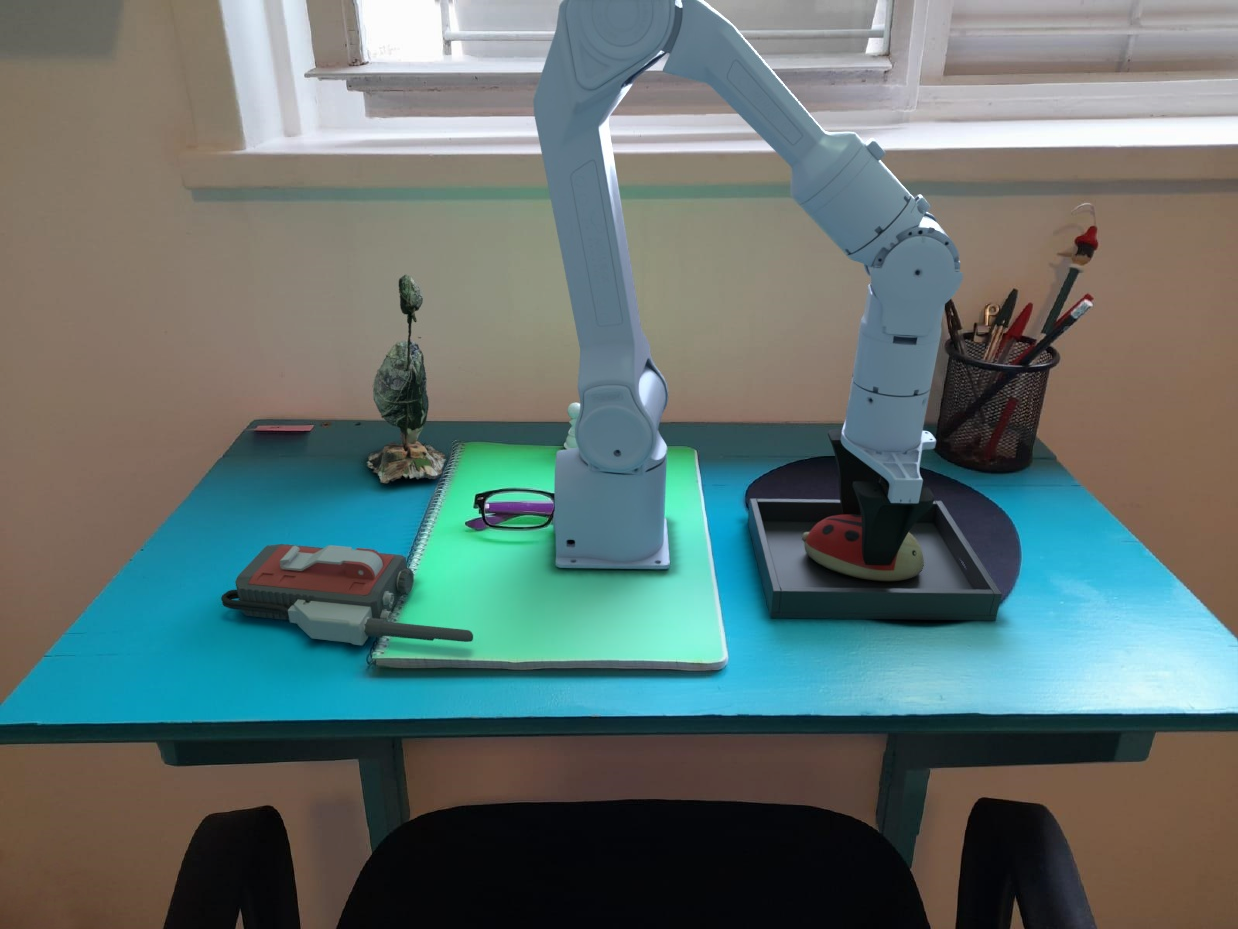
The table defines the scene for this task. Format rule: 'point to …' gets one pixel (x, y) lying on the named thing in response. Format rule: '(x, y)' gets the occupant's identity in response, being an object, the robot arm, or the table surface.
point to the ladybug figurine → (858, 551)
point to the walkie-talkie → (331, 593)
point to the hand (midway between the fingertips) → (865, 536)
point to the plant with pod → (405, 402)
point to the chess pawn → (573, 413)
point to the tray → (832, 595)
